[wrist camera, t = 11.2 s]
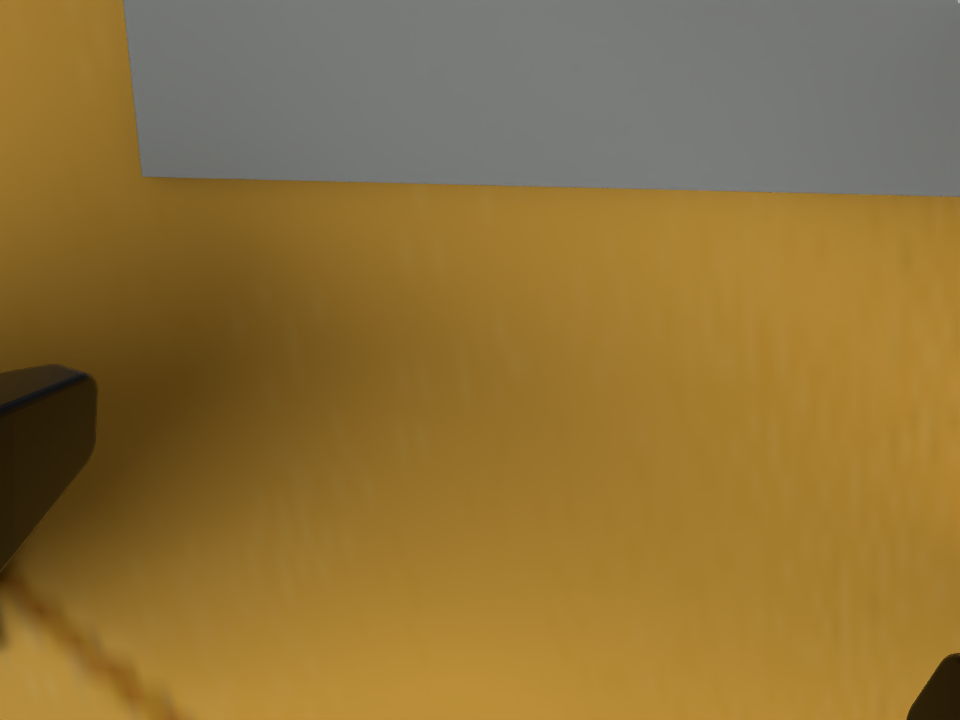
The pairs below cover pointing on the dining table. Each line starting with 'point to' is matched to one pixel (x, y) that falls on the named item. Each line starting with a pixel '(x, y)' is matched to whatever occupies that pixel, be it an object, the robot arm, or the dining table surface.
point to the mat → (553, 93)
